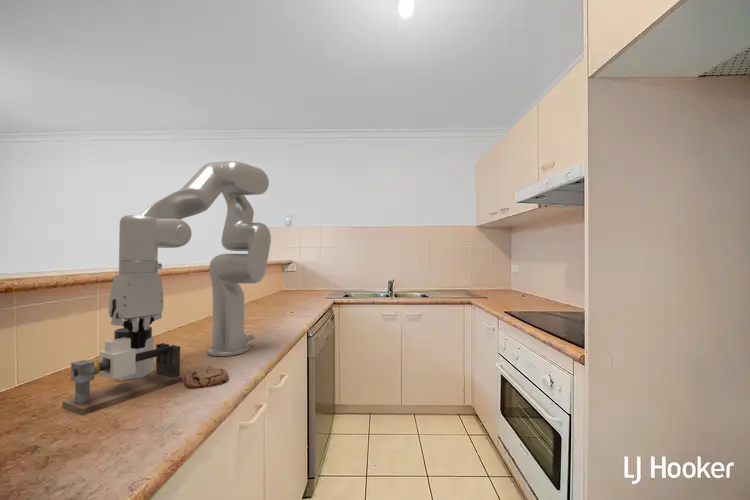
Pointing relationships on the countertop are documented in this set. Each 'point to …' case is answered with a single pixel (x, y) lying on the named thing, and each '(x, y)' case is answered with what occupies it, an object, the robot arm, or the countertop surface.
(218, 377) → the cookie
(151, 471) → the countertop surface
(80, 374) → the comb rig
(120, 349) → the sleeve
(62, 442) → the countertop surface
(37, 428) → the countertop surface
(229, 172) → the robot arm
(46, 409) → the countertop surface
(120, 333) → the jar
